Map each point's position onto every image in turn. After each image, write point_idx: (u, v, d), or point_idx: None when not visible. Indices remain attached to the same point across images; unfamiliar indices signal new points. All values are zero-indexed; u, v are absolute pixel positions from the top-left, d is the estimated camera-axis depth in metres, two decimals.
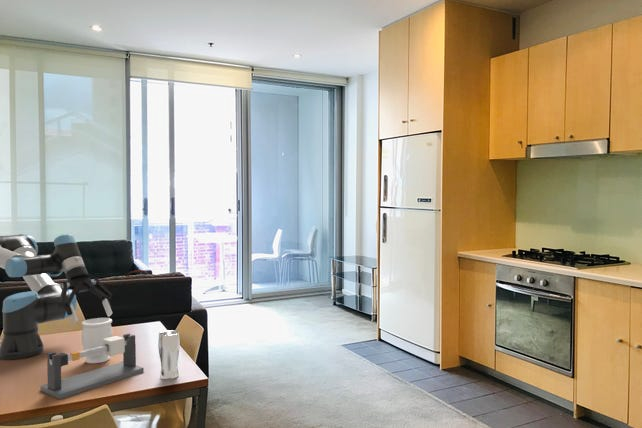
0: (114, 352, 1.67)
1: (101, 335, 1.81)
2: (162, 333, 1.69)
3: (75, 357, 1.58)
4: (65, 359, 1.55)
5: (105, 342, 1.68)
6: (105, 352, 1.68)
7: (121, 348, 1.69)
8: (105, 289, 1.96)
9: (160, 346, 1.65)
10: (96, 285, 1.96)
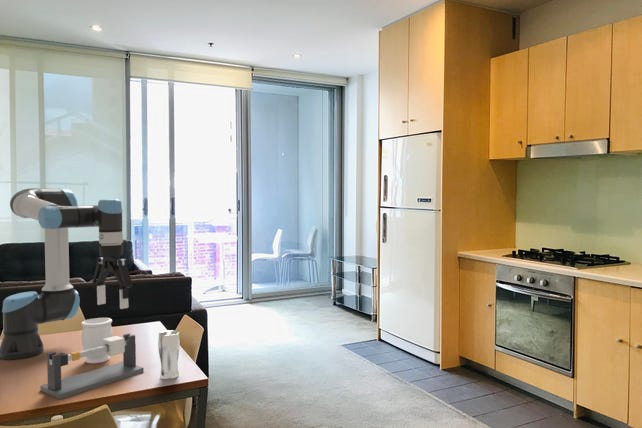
0: (114, 352, 1.67)
1: (101, 335, 1.81)
2: (162, 333, 1.69)
3: (75, 357, 1.58)
4: (65, 359, 1.55)
5: (105, 342, 1.68)
6: (105, 352, 1.68)
7: (121, 348, 1.69)
8: (122, 277, 1.64)
9: (160, 346, 1.65)
10: None
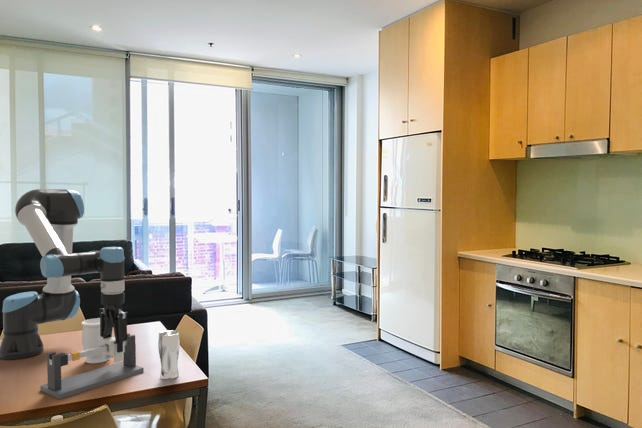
0: None
1: None
2: (162, 333, 1.69)
3: (75, 357, 1.58)
4: (65, 359, 1.55)
5: (105, 342, 1.68)
6: (105, 352, 1.68)
7: None
8: (119, 331, 1.65)
9: (160, 346, 1.65)
10: None
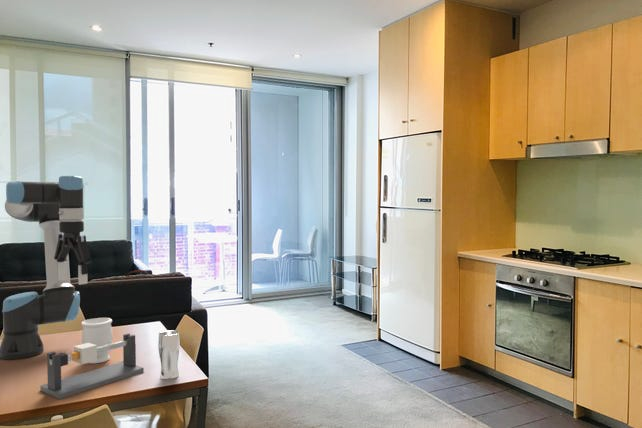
0: (85, 359, 1.59)
1: (101, 335, 1.81)
2: (162, 333, 1.69)
3: (75, 357, 1.58)
4: (65, 359, 1.55)
5: (76, 349, 1.60)
6: None
7: (93, 356, 1.61)
8: (81, 253, 1.65)
9: (160, 346, 1.65)
10: None
